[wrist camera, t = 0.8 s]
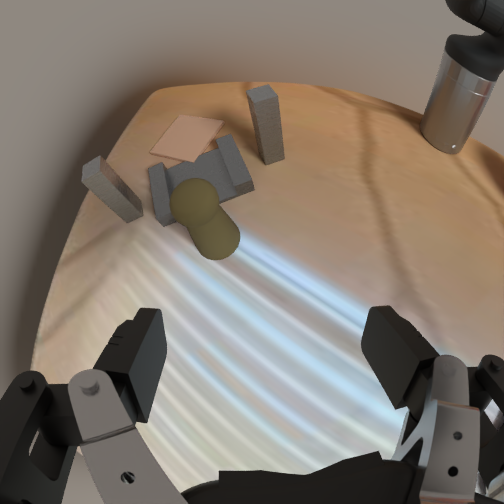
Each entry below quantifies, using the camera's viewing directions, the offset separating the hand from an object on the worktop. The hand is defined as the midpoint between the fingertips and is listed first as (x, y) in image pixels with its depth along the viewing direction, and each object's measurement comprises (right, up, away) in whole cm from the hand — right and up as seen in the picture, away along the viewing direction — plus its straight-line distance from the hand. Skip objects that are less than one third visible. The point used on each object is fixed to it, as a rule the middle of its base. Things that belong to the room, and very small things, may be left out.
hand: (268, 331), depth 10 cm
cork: (-5, +5, +26) cm, 27 cm away
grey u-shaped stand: (-8, +13, +30) cm, 34 cm away
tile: (-12, +23, +34) cm, 43 cm away
